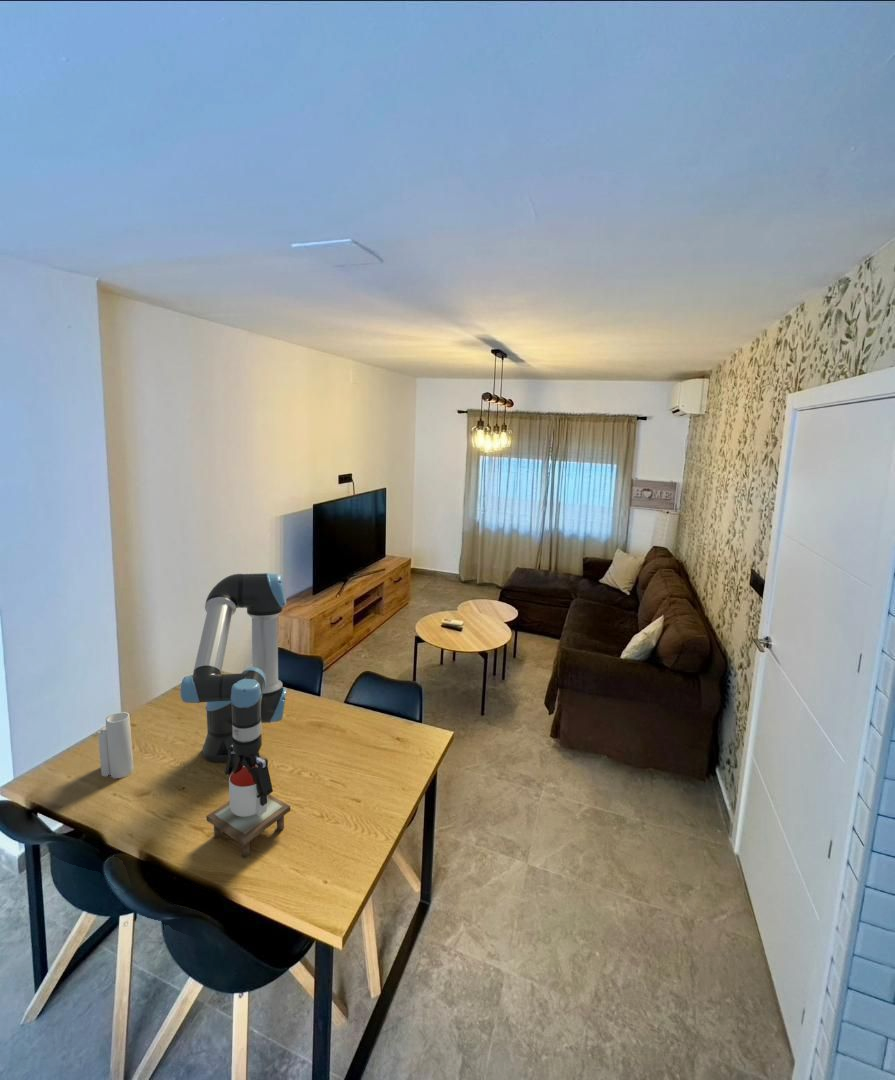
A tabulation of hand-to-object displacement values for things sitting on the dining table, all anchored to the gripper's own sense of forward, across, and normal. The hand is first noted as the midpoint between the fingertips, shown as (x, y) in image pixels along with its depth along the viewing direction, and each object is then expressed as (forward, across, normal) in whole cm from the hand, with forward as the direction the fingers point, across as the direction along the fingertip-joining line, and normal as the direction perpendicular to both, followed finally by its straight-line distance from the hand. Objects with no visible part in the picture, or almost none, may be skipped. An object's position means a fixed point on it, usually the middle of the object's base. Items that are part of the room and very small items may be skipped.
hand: (248, 805), depth 150 cm
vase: (+9, -58, -7) cm, 59 cm away
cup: (+1, 0, 0) cm, 1 cm away
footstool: (+9, 0, 0) cm, 9 cm away
